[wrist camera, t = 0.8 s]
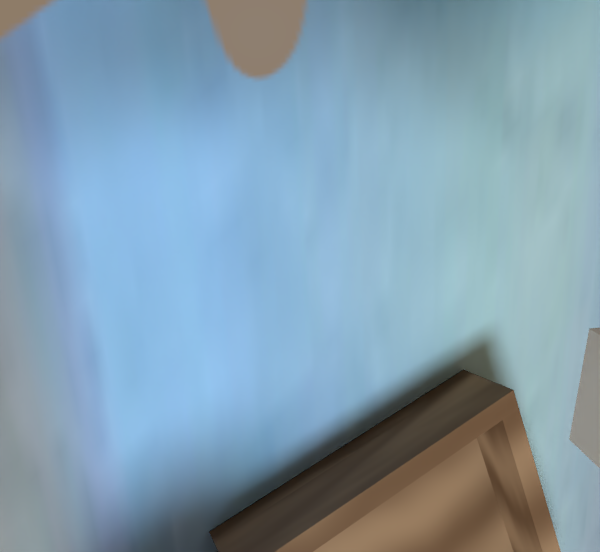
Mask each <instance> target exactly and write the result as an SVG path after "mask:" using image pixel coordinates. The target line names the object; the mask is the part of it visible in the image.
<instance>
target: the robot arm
mask: <svg viewBox="0 0 600 552" xmlns="http://www.w3.org/2000/svg"><path fill="white" fill-rule="evenodd" d="M569 440H570V441H571V442H572V443H574V444H575V445H576V446H577V447H578V448H579V449H580V450H581V451H582V452H583V453H584V454H585V455H586V456H587V457H588V458H589V459H590V460H591V461H592V462H593V463H595V464H596V465H597V466H598V467H599V468H600V328H591V329H589V334H588V339H587V345H586V350H585V356H584V361H583V367H582V372H581V378H580V383H579V389H578V394H577V400H576V405H575V411H574V416H573V422H572V427H571V433H570V438H569Z"/></svg>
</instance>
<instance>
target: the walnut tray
mask: <svg viewBox="0 0 600 552" xmlns="http://www.w3.org/2000/svg"><path fill="white" fill-rule="evenodd" d="M209 533H210V535H211V537H212V539H213V541H214V543H215V546H216V548H217V550H218V552H561V551H560V548H559V544H558V541H557V538H556V534H555V531H554V527H553V524H552V520H551V517H550V514H549V510H548V507H547V503H546V500H545V497H544V493H543V490H542V486H541V483H540V479H539V476H538V473H537V469H536V466H535V462H534V459H533V456H532V452H531V449H530V445H529V442H528V438H527V435H526V432H525V428H524V425H523V421H522V418H521V415H520V411H519V408H518V404H517V401H516V397H515V394H514V391H513V390H512V389H509V388H507V387H505V386H502V385H500V384H497V383H495V382H492V381H490V380H487V379H485V378H483V377H480V376H478V375H475V374H473V373H470V372H468V371H465V370H462V371H461V372H459V373H458V374H456V375H455V376H453V377H451V378H450V379H448V380H447V381H445V382H444V383H442V384H440V385H439V386H437V387H436V388H434V389H433V390H431V391H429V392H428V393H426V394H425V395H423V396H422V397H420V398H418V399H417V400H415V401H414V402H412V403H411V404H409V405H407V406H406V407H404V408H403V409H401V410H400V411H398V412H396V413H395V414H393V415H392V416H390V417H389V418H387V419H385V420H384V421H382V422H381V423H379V424H378V425H376V426H374V427H373V428H371V429H370V430H368V431H367V432H365V433H363V434H362V435H360V436H359V437H357V438H356V439H354V440H352V441H351V442H349V443H348V444H346V445H345V446H343V447H341V448H340V449H338V450H337V451H335V452H334V453H332V454H330V455H329V456H327V457H326V458H324V459H323V460H321V461H319V462H318V463H316V464H315V465H313V466H312V467H310V468H309V469H307V470H305V471H304V472H302V473H301V474H299V475H298V476H296V477H294V478H293V479H291V480H290V481H288V482H287V483H285V484H283V485H282V486H280V487H279V488H277V489H276V490H274V491H272V492H271V493H269V494H268V495H266V496H265V497H263V498H261V499H260V500H258V501H257V502H255V503H254V504H252V505H250V506H249V507H247V508H246V509H244V510H243V511H241V512H239V513H238V514H236V515H235V516H233V517H232V518H230V519H228V520H227V521H225V522H224V523H222V524H221V525H219V526H217V527H216V528H214V529H213V530H211V531H210V532H209Z"/></svg>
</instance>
